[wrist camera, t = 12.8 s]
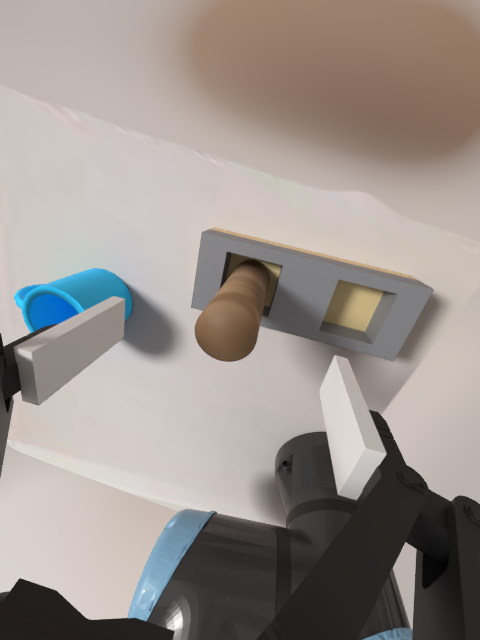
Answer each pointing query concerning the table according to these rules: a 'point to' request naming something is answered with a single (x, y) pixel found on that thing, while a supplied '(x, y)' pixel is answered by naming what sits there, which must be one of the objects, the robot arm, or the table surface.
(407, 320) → the rail
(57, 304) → the mug
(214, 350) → the peg
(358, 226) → the table surface
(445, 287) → the table surface
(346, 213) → the table surface
